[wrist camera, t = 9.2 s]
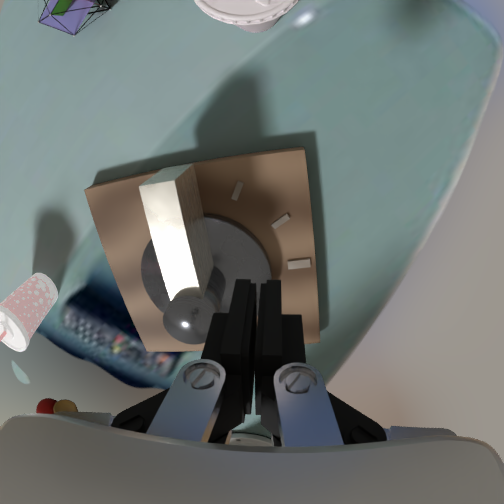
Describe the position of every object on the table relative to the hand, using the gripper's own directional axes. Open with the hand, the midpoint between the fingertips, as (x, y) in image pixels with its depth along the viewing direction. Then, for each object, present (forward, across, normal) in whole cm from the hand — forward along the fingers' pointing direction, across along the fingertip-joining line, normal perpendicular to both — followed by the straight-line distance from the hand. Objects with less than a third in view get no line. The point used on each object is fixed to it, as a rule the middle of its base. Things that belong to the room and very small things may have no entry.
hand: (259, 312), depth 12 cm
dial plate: (+17, +6, +7) cm, 20 cm away
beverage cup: (+18, +28, +12) cm, 35 cm away
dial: (+16, +6, +5) cm, 18 cm away
